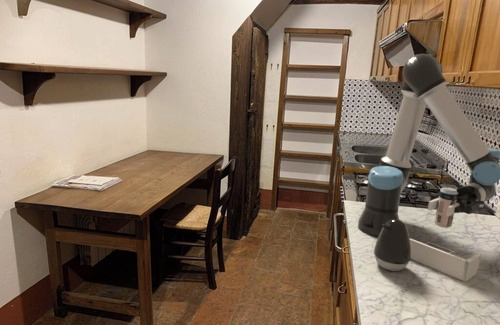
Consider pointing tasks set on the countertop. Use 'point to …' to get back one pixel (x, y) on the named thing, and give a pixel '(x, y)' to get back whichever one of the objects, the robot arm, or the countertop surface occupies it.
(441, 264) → the walled box
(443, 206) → the beer can
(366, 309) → the countertop surface
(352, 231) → the countertop surface
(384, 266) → the black glossy domed part
